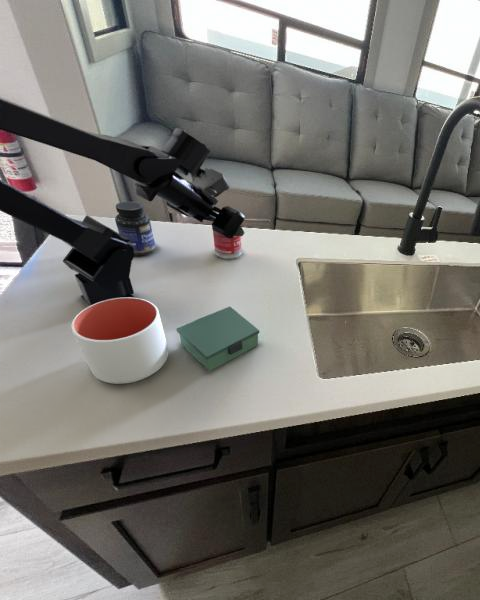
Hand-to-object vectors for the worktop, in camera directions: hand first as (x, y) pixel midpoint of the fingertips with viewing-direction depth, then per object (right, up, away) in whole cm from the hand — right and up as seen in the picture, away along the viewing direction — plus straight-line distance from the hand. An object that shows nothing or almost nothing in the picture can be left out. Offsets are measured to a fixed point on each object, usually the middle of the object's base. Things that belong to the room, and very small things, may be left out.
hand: (229, 227), depth 81 cm
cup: (-2, -29, -27) cm, 39 cm away
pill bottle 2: (-2, -6, +4) cm, 7 cm away
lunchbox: (+9, -27, -20) cm, 34 cm away
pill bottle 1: (-19, -6, -4) cm, 21 cm away
